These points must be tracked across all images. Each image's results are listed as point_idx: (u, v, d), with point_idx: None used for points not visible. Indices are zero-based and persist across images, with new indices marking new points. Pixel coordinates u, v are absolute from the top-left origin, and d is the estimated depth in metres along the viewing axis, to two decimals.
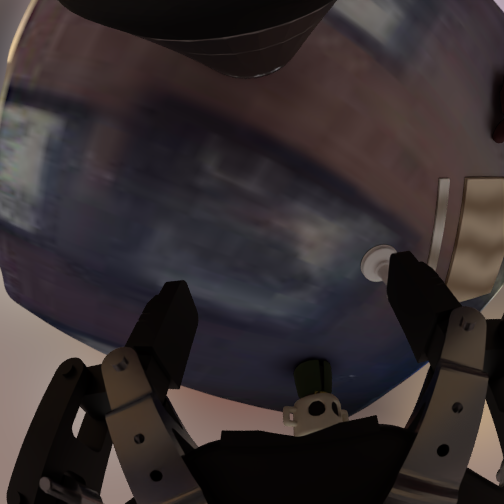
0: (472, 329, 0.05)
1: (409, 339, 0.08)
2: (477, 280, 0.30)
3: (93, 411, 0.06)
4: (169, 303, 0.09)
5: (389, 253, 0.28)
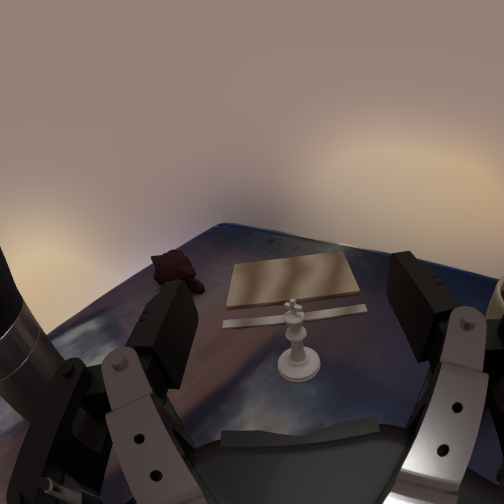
0: (472, 329, 0.05)
1: (408, 339, 0.08)
2: (327, 268, 0.44)
3: (93, 411, 0.06)
4: (169, 303, 0.09)
5: (283, 356, 0.30)
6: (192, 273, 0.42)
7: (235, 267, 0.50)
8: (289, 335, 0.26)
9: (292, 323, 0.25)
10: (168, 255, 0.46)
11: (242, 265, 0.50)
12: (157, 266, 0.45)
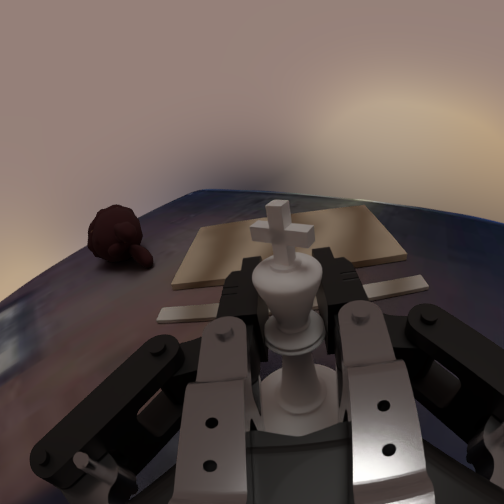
0: (361, 323, 0.06)
1: None
2: (345, 225, 0.26)
3: (171, 395, 0.07)
4: None
5: (263, 388, 0.12)
6: (128, 232, 0.24)
7: (201, 230, 0.32)
8: (274, 338, 0.08)
9: (280, 292, 0.07)
10: (106, 211, 0.28)
11: (211, 228, 0.32)
12: (90, 228, 0.27)
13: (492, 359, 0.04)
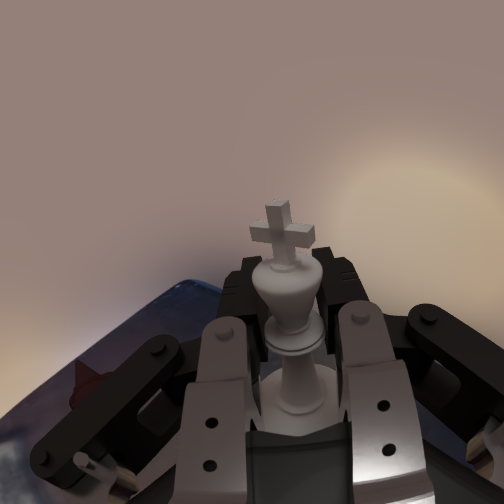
0: (361, 323, 0.06)
1: None
2: None
3: (171, 395, 0.07)
4: None
5: (263, 388, 0.12)
6: None
7: None
8: (274, 338, 0.08)
9: (280, 292, 0.07)
10: (84, 389, 0.19)
11: None
12: (71, 402, 0.19)
13: (493, 358, 0.04)
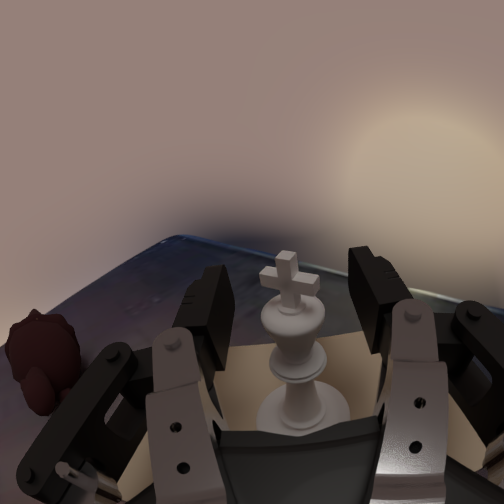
0: (415, 321, 0.06)
1: (364, 331, 0.09)
2: None
3: (132, 399, 0.07)
4: (215, 285, 0.09)
5: (267, 404, 0.12)
6: (37, 408, 0.09)
7: None
8: (280, 368, 0.09)
9: (287, 334, 0.07)
10: (19, 330, 0.13)
11: None
12: (7, 350, 0.13)
13: None
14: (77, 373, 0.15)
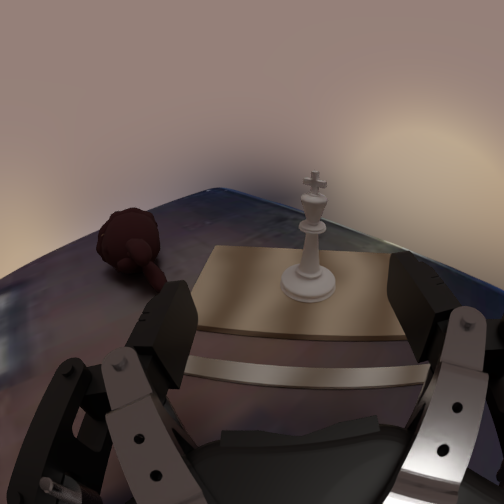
0: (472, 329, 0.05)
1: (408, 339, 0.08)
2: (372, 280, 0.23)
3: (93, 411, 0.06)
4: (169, 303, 0.09)
5: (288, 270, 0.24)
6: (142, 256, 0.21)
7: (215, 250, 0.29)
8: (304, 226, 0.20)
9: (312, 202, 0.19)
10: (121, 215, 0.25)
11: (227, 249, 0.29)
12: (101, 231, 0.24)
13: None
14: (157, 253, 0.27)
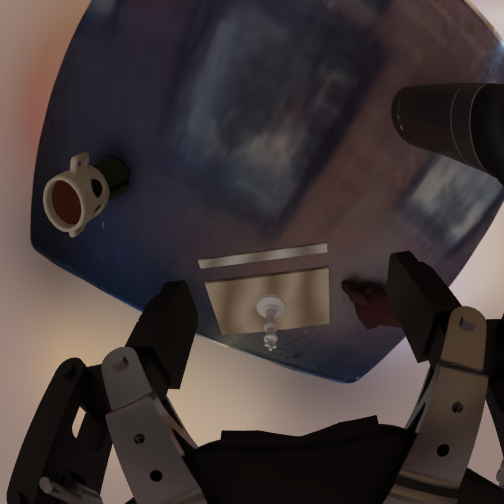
0: (472, 329, 0.05)
1: (409, 339, 0.08)
2: (236, 313, 0.47)
3: (93, 411, 0.06)
4: (169, 303, 0.09)
5: (281, 310, 0.45)
6: (351, 293, 0.39)
7: (327, 319, 0.47)
8: (274, 326, 0.40)
9: (271, 334, 0.38)
10: (379, 318, 0.39)
11: (321, 321, 0.47)
12: (390, 305, 0.39)
13: None
14: None
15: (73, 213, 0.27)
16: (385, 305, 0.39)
